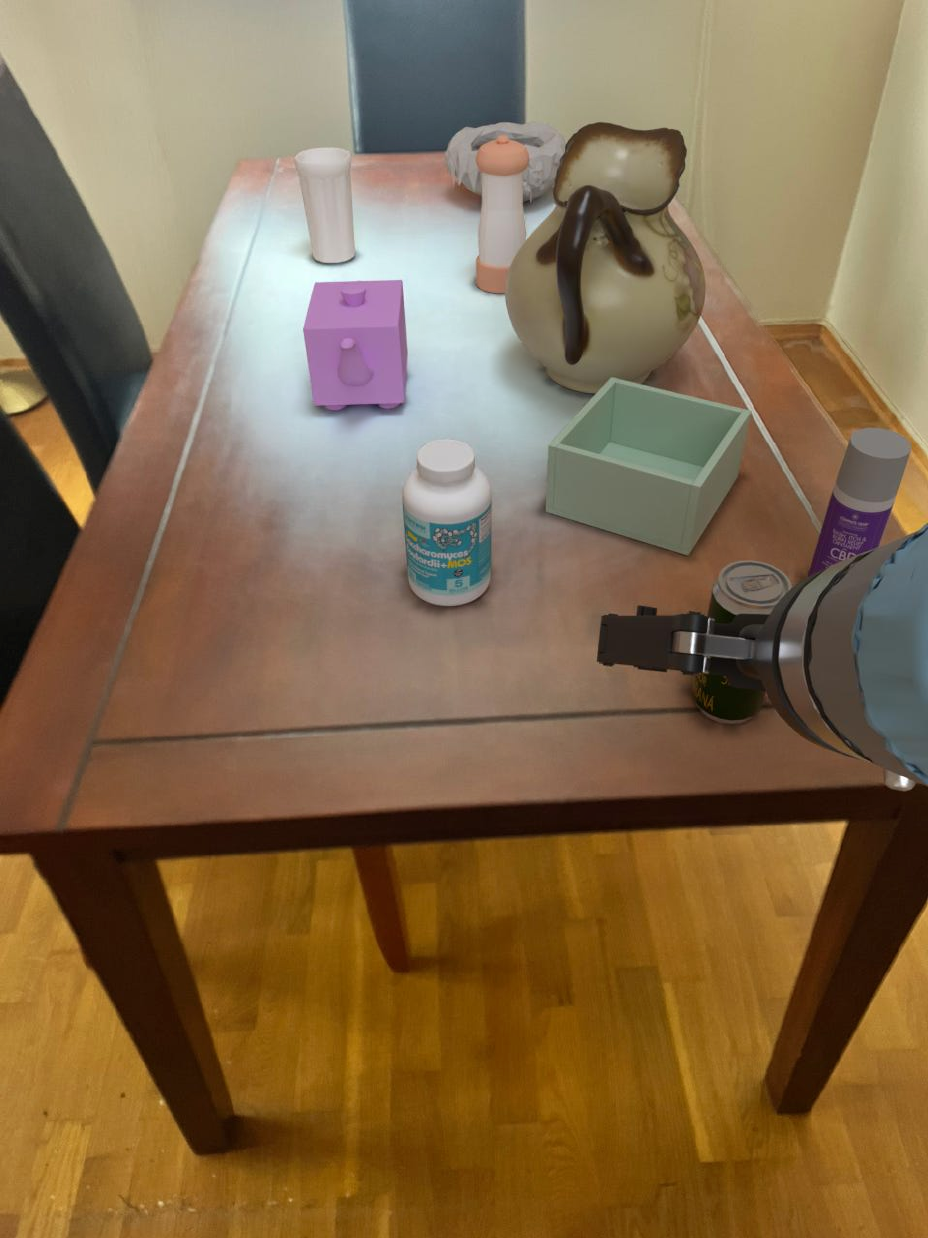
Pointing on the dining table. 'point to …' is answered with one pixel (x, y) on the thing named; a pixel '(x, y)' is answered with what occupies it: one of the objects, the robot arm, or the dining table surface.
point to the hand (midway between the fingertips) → (772, 661)
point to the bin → (646, 463)
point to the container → (861, 496)
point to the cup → (327, 202)
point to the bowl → (535, 137)
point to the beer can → (732, 594)
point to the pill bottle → (447, 524)
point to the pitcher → (608, 262)
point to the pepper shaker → (500, 210)
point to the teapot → (357, 343)
